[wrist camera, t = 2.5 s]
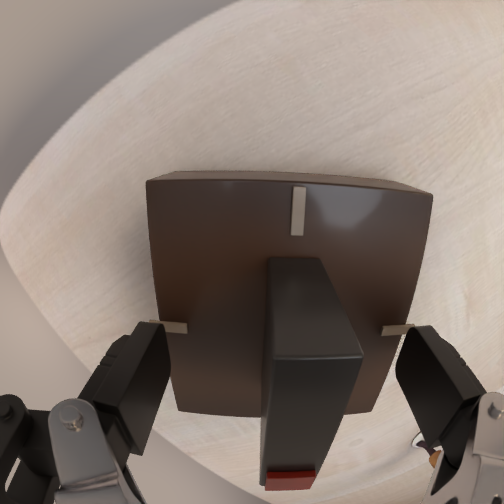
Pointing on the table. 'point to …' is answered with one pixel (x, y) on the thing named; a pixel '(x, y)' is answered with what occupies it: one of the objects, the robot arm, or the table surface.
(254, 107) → the table surface
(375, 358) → the panel
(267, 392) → the knob
